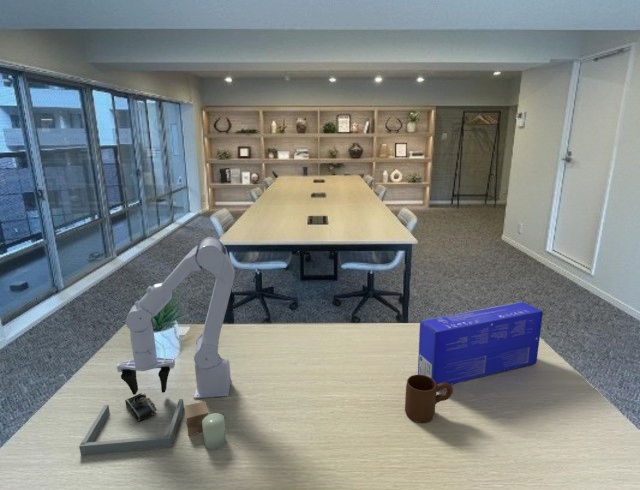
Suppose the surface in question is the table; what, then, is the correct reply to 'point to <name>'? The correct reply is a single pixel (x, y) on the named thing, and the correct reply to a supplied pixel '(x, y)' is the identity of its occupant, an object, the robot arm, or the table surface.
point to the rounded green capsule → (214, 431)
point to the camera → (141, 406)
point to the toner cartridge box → (479, 342)
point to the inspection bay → (127, 444)
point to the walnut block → (195, 417)
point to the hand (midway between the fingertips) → (150, 391)
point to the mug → (424, 397)
